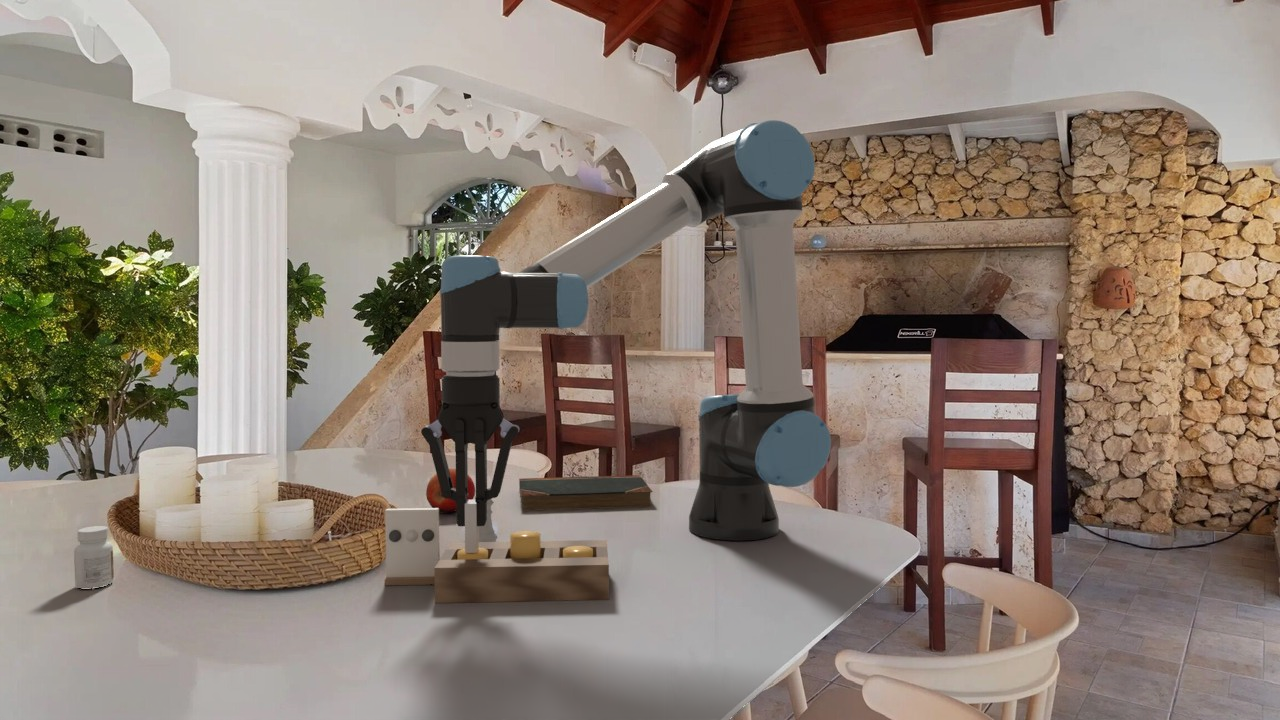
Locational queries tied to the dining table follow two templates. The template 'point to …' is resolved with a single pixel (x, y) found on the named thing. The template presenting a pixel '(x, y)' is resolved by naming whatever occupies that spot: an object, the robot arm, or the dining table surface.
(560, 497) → the book
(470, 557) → the button
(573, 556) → the button
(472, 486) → the apple
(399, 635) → the dining table surface
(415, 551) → the card
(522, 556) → the button middle
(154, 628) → the dining table surface
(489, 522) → the rook chess piece
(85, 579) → the pill bottle
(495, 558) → the board
